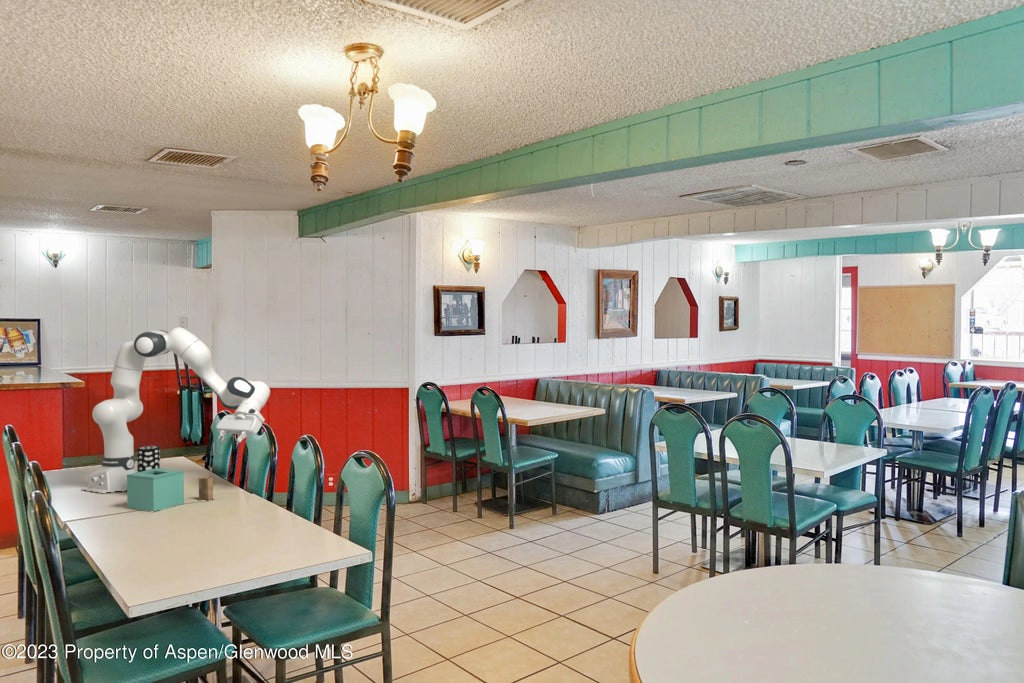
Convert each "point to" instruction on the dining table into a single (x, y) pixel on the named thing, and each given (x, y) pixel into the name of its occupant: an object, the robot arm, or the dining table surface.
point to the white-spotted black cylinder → (148, 458)
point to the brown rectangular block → (205, 488)
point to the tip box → (155, 489)
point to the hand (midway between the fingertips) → (229, 440)
